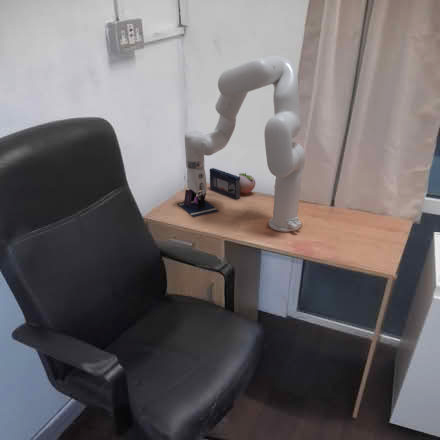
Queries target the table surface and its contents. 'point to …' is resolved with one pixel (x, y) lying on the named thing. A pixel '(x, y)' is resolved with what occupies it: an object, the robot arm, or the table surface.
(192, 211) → the cloth
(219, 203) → the table surface
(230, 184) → the vhs cassette tape
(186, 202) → the monster skateboard toy
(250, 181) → the decorative fruit
